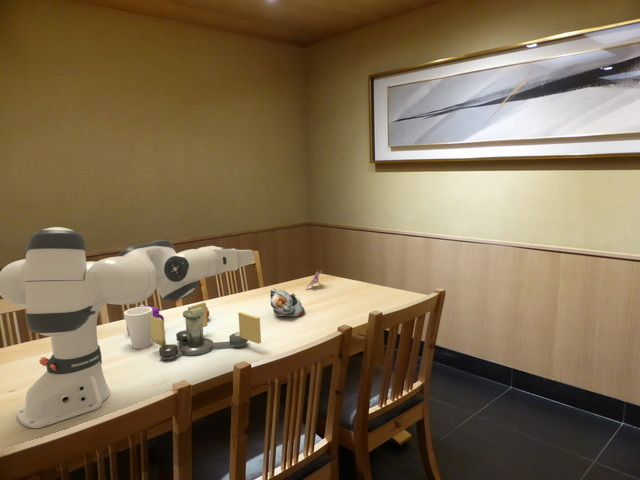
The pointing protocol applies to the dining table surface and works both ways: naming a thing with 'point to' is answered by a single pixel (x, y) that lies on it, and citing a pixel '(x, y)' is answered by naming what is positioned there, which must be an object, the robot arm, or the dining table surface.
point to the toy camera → (155, 313)
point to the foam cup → (139, 326)
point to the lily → (315, 279)
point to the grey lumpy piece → (285, 304)
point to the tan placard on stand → (247, 330)
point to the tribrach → (187, 336)
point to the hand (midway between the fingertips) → (235, 255)
